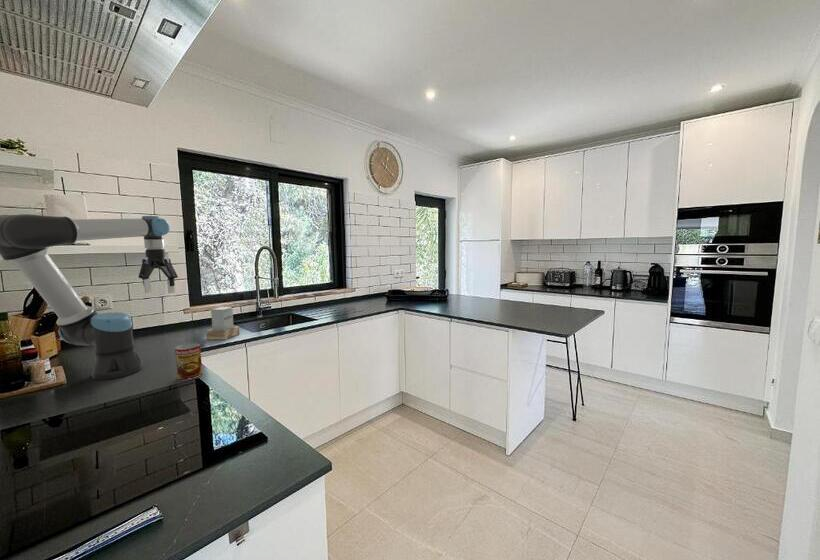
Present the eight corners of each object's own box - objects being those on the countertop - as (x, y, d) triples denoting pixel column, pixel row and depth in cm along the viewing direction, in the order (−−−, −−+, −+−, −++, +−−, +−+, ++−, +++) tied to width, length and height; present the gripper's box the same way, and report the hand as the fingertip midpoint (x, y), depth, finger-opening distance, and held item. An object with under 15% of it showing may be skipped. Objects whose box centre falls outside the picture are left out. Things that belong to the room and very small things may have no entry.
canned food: (178, 382, 125) (174, 350, 123) (178, 375, 131) (175, 345, 130) (203, 377, 129) (200, 346, 128) (202, 370, 136) (199, 341, 134)
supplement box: (224, 333, 179) (222, 309, 178) (212, 332, 181) (210, 309, 179) (234, 329, 186) (232, 306, 185) (222, 329, 188) (220, 306, 186)
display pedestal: (224, 340, 177) (224, 331, 177) (206, 339, 180) (206, 330, 179) (239, 334, 188) (238, 326, 188) (222, 333, 190) (221, 325, 190)
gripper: (183, 248, 164) (187, 291, 167) (141, 248, 169) (146, 291, 172) (169, 248, 157) (174, 294, 159) (125, 249, 162) (131, 293, 165)
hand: (159, 292), depth 166 cm, fingers open, 13 cm apart
